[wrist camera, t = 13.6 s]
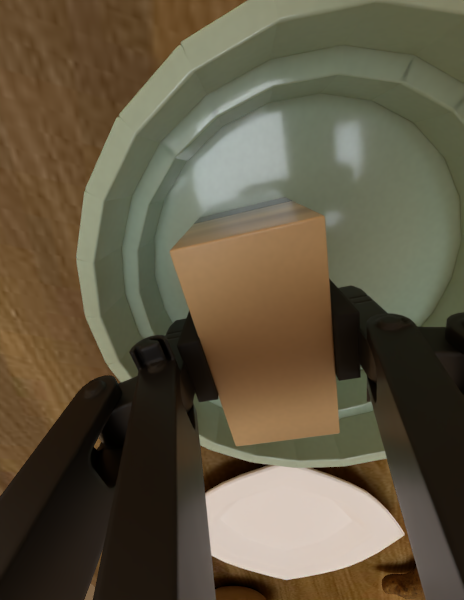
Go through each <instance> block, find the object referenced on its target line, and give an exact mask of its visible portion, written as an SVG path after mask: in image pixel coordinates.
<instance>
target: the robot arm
mask: <svg viewBox="0 0 464 600" xmlns="http://www.w3.org/2000/svg"><path fill="white" fill-rule="evenodd" d="M329 283H330V297H331V311H332V326H333V340H334V355H335V369H336V376H337V378H338V380H339V381H341V380H348V379H354V378H361V369H360V365H361V367H362V368H363V370H364V371H365V373H366V374H367V402H370V400H371V403H372V406H373V410H374V414H375V417H376V421H377V424H378V428H379V432H380V435H381V439H382V443H383V446H384V450H385V453H386V457H387V461H388V464H389V468H390V472H391V475H392V479H393V483H394V486H395V490H396V493H397V497H398V501H399V504H400V508H401V512H402V515H403V519H404V522H405V526H406V530H407V533H408V537H409V541H410V544H411V548H412V551H413V555H414V559H415V562H416V566H417V570H418V573H419V577H420V580H421V584H422V588H423V591H424V595H425V599H426V600H464V312H462V313H456V314H453V315H450V316H449V317H448V318H447V321H446V327H420V326H416V324H415V323H414V322H413V321H412V320H411V319H410V318H407V317H405V316H403V315H398V314H393V313H387V312H386V311H385V310H384V309H383V308H382V307H380V306H379V305H378V304H377V303H376V302H375V301H374V300H372V298H371V297H370V296H368V295H367V294H366V293H365V292H364V291H363V290H362V289H360V288H357V287H355V286H352V285H350V286H345V287H340V288H338V287H337V286H336V285H335V284H334V283H333V282H332V281H331V280H330V278H329ZM129 353H130V355H131V357H132V359H133V361H134V363H135V365H136V367H137V369H138V376H136V377H134V378H131V379H129V380H126V381H124V382H121V383H119V384H118V383H117V381H116V379H115V377H113V376H102V377H98V378H96V379H94V380H92V381H90V382H89V383H88V384H86V385H85V386H83V387H82V389H81V390H80V391H79V392H78V393H77V394H76V396H75V397H74V398H73V400H72V401H71V402H70V404H69V405H68V406H67V408H66V409H65V410H64V412H63V413H62V414H61V416H60V417H59V418H58V420H57V421H56V422H55V424H54V425H53V426H52V428H51V429H50V430H49V432H48V433H47V434H46V436H45V437H44V438H43V440H42V441H41V442H40V444H39V445H38V446H37V448H36V449H35V450H34V452H33V453H32V455H31V456H30V457H29V459H28V460H27V461H26V463H25V464H24V465H23V467H22V468H21V469H20V471H19V472H18V473H17V475H16V476H15V477H14V479H13V480H12V481H11V483H10V484H9V485H8V487H7V488H6V489H5V491H4V492H3V493H2V495H1V496H0V600H84V599H85V596H86V593H87V591H88V588H89V585H90V583H91V580H92V577H93V575H94V572H95V569H96V566H97V564H98V561H99V558H100V555H101V553H102V557H101V562H100V567H99V572H98V577H97V582H96V587H95V592H94V597H93V600H216V596H215V586H214V576H213V567H212V557H211V547H210V537H209V527H208V518H207V508H206V498H205V488H204V478H203V469H202V459H201V449H200V439H199V429H198V420H197V411H196V408H195V406H194V403H193V400H194V395H195V393H196V396H197V398H198V401H199V402H205V401H211V400H218V395H219V394H218V391H217V388H216V385H215V382H214V380H213V377H212V374H211V371H210V368H209V365H208V362H207V359H206V356H205V353H204V350H203V347H202V344H201V341H200V338H199V337H198V334H197V331H196V329H195V326H194V323H193V320H192V317H191V314H190V311H189V312H188V315H187V318H185V319H180V320H176V321H175V322H174V323H173V324H172V325H171V326H170V327H169V329H168V331H167V333H166V335H165V336H164V335H153V336H149V337H147V338H144V339H142V340H141V341H139V342H137V343H136V344H135V345H134V346H133V347H132V348H131V350H130V351H129ZM98 437H99V439H100V440H101V444H100V446H99V447H98V448H97V450H96V449H95V448H94V444H95V443H96V441H97V439H98ZM102 550H103V552H102Z"/></svg>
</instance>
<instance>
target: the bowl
mask: <svg viewBox="0 0 464 600" xmlns="http://www.w3.org/2000/svg"><path fill="white" fill-rule="evenodd" d="M283 197H286V198H288V199H290V200H292V201H294V202H296V203H298V204H300V205H302V206H305V207H307V208H309V209H311V210H313V211H315V212H317V213H320V214H322V215H324V217H325V225H326V239H327V254H328V268H329V278H330V280H331V281H332V282H333V283H334V284H335V285H336V286H337V287H338V288H340V287H345V286H350V285H352V286H355V287H357V288H360V289H362V290H363V291H364V292H365V293H366V294H367V295H368V296H370V297H371V298H372V300H374V301H375V302H376V303H377V304H378V305H379V306H380V307H382V308H383V309H384V310H385V311H386V312H387V313H393V314H398V315H403V316H405V317H407V318H410V319H411V320H412V321H413V322H414V323H415V324H416V326H420V327H446V321H447V318H448V317H449V316H450V315H453V314H456V313H462V312H464V0H247V1H246V2H244V3H243V4H241V5H239V6H238V7H236V8H235V9H233V10H231V11H230V12H228V13H227V14H225V15H223V16H222V17H220V18H218V19H217V20H215V21H214V22H212V23H210V24H209V25H207V26H206V27H204V28H202V29H201V30H199V31H198V32H196V33H194V34H193V35H191V36H190V37H188V38H186V39H185V40H183V41H182V42H181V45H178V46H177V47H176V49H175V50H174V51H173V52H172V53H171V54H170V56H169V57H168V58H167V59H166V60H165V61H164V63H163V64H162V65H161V66H160V67H159V68H158V70H157V71H156V72H155V73H154V74H153V75H152V77H151V78H150V79H149V80H148V81H147V82H146V84H145V85H144V86H143V87H142V88H141V89H140V91H139V92H138V93H137V94H136V95H135V96H134V98H133V99H132V100H131V101H130V102H129V103H128V104H127V106H126V107H125V108H124V109H123V110H122V111H121V113H120V114H119V117H117V118H116V120H115V122H114V125H113V127H112V129H111V131H110V134H109V136H108V138H107V140H106V143H105V145H104V147H103V150H102V152H101V154H100V156H99V159H98V161H97V163H96V165H95V168H94V170H93V172H92V175H91V177H90V179H89V181H88V184H87V186H86V188H85V192H84V199H83V207H82V214H81V222H80V230H79V238H78V246H77V254H76V258H77V260H76V262H77V269H78V275H79V281H80V288H81V294H82V300H83V307H84V313H85V316H86V320H87V322H88V324H89V327H90V329H91V331H92V333H93V336H94V338H95V340H96V342H97V344H98V347H99V349H100V351H101V353H102V356H103V358H104V360H105V362H106V364H107V365H108V367H109V368H110V369H111V371H112V372H113V373H114V374H115V376H116V377H117V378H118V379H119V381H120V382H124V381H126V380H129V379H131V378H134V377H136V376H138V369H137V367H136V365H135V363H134V361H133V359H132V357H131V355H130V353H129V351H130V350H131V348H132V347H133V346H134V345H135V344H136V343H137V342H139V341H141V340H142V339H144V338H147V337H149V336H153V335H164V336H165V335H166V333H167V331H168V329H169V327H170V326H171V325H172V324H173V323H174V322H175V321H176V320H180V319H185V318H187V315H188V312H189V308H188V305H187V302H186V299H185V296H184V293H183V290H182V288H181V285H180V282H179V279H178V276H177V273H176V270H175V267H174V264H173V261H172V258H171V255H170V250H171V249H172V248H173V246H174V245H175V244H176V243H177V242H178V241H179V240H180V239H181V238H182V236H183V235H184V234H185V233H186V232H187V231H188V230H189V229H190V228H191V226H192V225H193V224H194V223H195V222H196V221H197V220H198V219H199V218H200V217H204V216H208V215H212V214H216V213H220V212H224V211H229V210H233V209H237V208H241V207H245V206H249V205H254V204H258V203H262V202H266V201H270V200H275V199H279V198H283ZM360 369H361V378H354V379H348V380H341V381H339V380H338V378H337V376H336V384H337V398H338V412H339V427H340V433H338V434H330V435H323V436H315V437H307V438H299V439H291V440H284V441H276V442H268V443H260V444H253V445H245V446H236V445H235V443H234V440H233V437H232V434H231V431H230V428H229V425H228V422H227V419H226V416H225V413H224V411H223V408H222V405H221V402H220V399H219V396H218V400H211V401H205V402H199V401H198V398H197V396H196V393H195V395H194V400H193V403H194V406H195V408H196V411H197V420H198V429H199V439H200V445H201V446H203V447H205V448H207V449H209V450H210V449H211V450H212V451H215V452H219V453H222V454H225V455H229V456H232V457H235V458H238V459H242V460H245V461H248V462H253V463H260V464H268V465H276V466H284V467H292V468H296V467H297V468H314V467H341V466H343V467H344V466H349V465H355V464H360V463H365V462H371V461H376V460H382V459H387V457H386V453H385V450H384V446H383V443H382V439H381V435H380V432H379V428H378V424H377V421H376V417H375V414H374V410H373V406H372V403H371V400H370V402H367V374H366V373H365V371H364V370H363V368H362V367H361V365H360Z"/></svg>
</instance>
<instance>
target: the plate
mask: <svg viewBox="0 0 464 600" xmlns="http://www.w3.org/2000/svg"><path fill="white" fill-rule="evenodd" d="M205 498H206V508H207V518H208V527H209V537H210V547H211V555H212V556H214V557H216V558H218V559H220V560H222V561H224V562H226V563H228V564H231V565H234V566H237V567H240V568H243V569H246V570H250V571H253V572H256V573H260V574H264V575H268V576H272V577H276V578H280V579H284V580H289V579H295V578H301V577H306V576H312V575H317V574H322V573H326V572H330V571H335V570H338V569H342V568H345V567H348V566H351V565H353V564H356V563H358V562H361V561H363V560H365V559H367V558H369V557H370V556H372V555H374V554H376V553H378V552H379V551H381V550H383V549H384V548H386V547H387V546H389V545H391V544H392V543H394V542H395V541H397V540H398V539H400V538H401V537H403V536H404V534H405V533H404V532H403V530H402V529H401V527H400V525H399V524H398V523H397V521H396V520H395V519H394V517H393V516H392V515H391V514H390V512H389V511H388V510H387V509H386V508H385V507H384V506H383V505H382V504H381V503H380V502H379V501H378V500H377V499H376V498H375V497H373V496H372V495H371V494H370V493H368V492H367V491H366V490H364V489H362V488H360V487H358V486H356V485H354V484H352V483H350V482H348V481H345V480H343V479H340V478H338V477H335V476H333V475H330V474H328V473H325V472H322V471H319V470H316V469H313V468H297V467H296V468H292V467H284V466H276V465H268V466H265V467H262V468H259V469H256V470H253V471H250V472H247V473H244V474H241V475H239V476H236V477H234V478H231V479H229V480H227V481H224V482H222V483H220V484H219V485H217V486H215V487H213V488H211V489H210V490H208V491H207V492H206V493H205Z"/></svg>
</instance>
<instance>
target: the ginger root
mask: <svg viewBox="0 0 464 600" xmlns="http://www.w3.org/2000/svg"><path fill="white" fill-rule="evenodd" d="M382 587H383V590H384V592H385V593H388V594H396V595H398V596H401V597H403V598H405V599H408V600H426V599H425V595H424V591H423V588H422V584H421V580H420V577H419V573H418V570H417V566H416V567H415V569H414V570H412V571H411V572H409V573H406V574H390V575H386V576H385V577H384V578H383V579H382Z"/></svg>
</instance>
